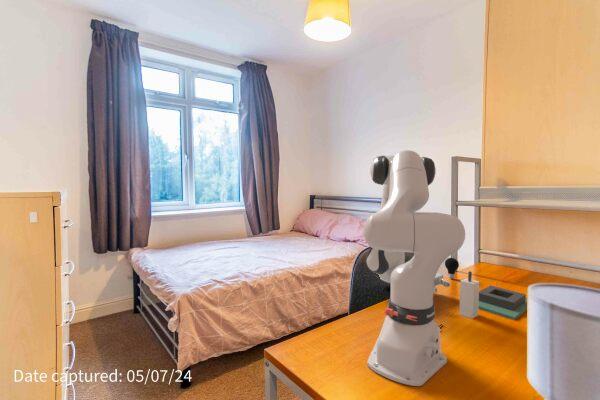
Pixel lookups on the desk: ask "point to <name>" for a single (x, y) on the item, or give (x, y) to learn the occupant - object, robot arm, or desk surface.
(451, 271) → the light bulb
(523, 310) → the board
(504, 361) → the desk surface
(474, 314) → the plug
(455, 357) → the desk surface
